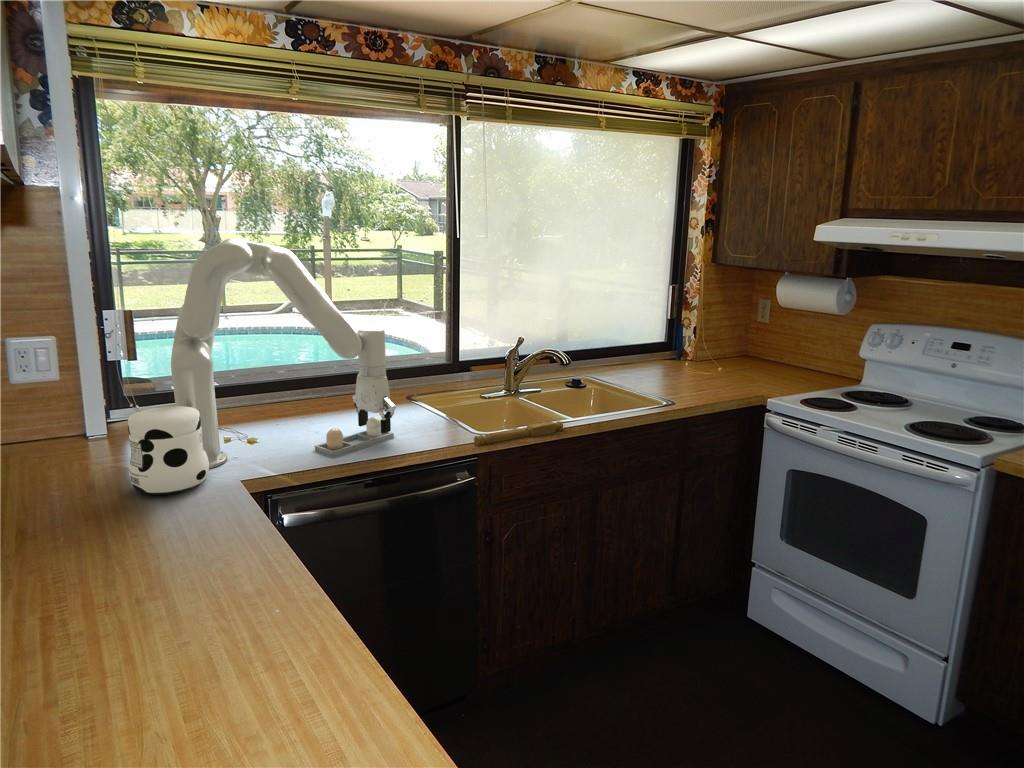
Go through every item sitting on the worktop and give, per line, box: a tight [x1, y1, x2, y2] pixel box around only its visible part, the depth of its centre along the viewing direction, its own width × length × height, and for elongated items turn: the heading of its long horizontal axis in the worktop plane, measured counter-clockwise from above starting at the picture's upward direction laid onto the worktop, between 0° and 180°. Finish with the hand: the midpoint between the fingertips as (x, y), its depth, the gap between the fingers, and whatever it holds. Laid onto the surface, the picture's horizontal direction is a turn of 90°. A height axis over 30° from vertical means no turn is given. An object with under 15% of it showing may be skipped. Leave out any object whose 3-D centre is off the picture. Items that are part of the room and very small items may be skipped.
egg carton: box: [312, 430, 398, 459], centre depth 202 cm, size 23×9×2 cm, turn 141°
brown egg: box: [325, 427, 344, 451], centre depth 196 cm, size 4×4×6 cm
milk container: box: [127, 405, 210, 496], centre depth 172 cm, size 17×17×18 cm
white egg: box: [365, 416, 382, 438], centre depth 207 cm, size 4×4×6 cm
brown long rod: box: [473, 420, 564, 446], centre depth 213 cm, size 3×3×30 cm
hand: (374, 428), depth 207 cm, fingers open, 9 cm apart
